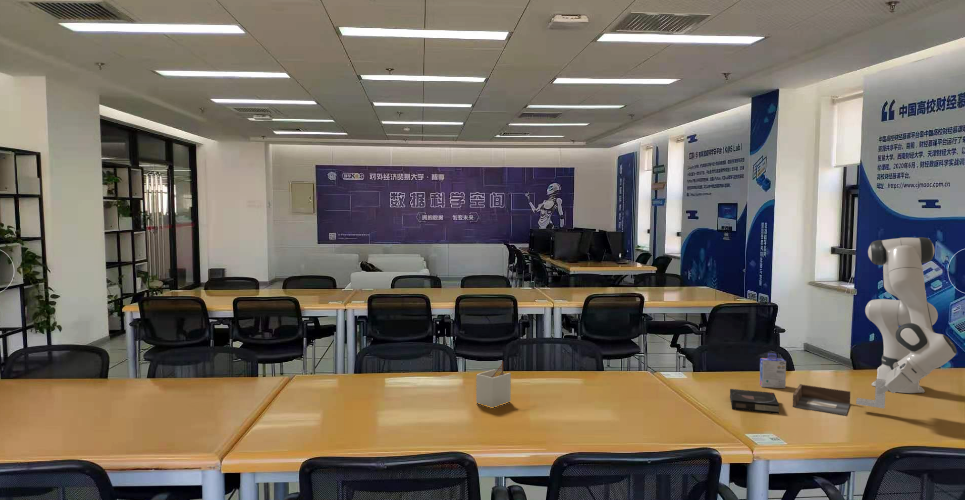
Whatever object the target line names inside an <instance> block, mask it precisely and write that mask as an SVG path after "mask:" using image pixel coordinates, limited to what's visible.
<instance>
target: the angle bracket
mask: <svg viewBox="0 0 965 500" xmlns="http://www.w3.org/2000/svg"><path fill="white" fill-rule="evenodd" d="M875 381H876V386H874V387H875V391H874V392H875V394H874V399H868V398H861V397H856V400H855V401H856V402H855V403H856V404H855V405H858V406H860V405H861V406H867V407H872V408H879V409H885V408H886V392H884V393H882V394H879V393H878V392H877V389H879V388H881V387H882V386H884V385H885V382H886V380H884V379H877V378H875Z"/></svg>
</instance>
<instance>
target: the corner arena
mask: <svg viewBox="0 0 965 500" xmlns="http://www.w3.org/2000/svg"><path fill="white" fill-rule="evenodd" d="M850 406H851V391H849V390H842V389H835V388H829V387H821V386H814V385H809V384H807V385H806V384H802V383H799V385H798V387H797V388H796V390H795V391H794V392H793V394H792V408H796V409H803V410H807V411H808V410H809V411H813V412H814V411H815V412H822V413H827V414H832V415H833V414H834V415H837V416H838V415H839V416H845V417H846V416H847V415H848V414H847V413H848V412H849V409H850Z"/></svg>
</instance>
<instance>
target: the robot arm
mask: <svg viewBox="0 0 965 500" xmlns="http://www.w3.org/2000/svg"><path fill="white" fill-rule="evenodd" d="M867 255H868V258H869V260H870V261H871V263H873V265H877V266H883V267H882V269H883V271H882V273H883V274H882V275H883V287H884V289H885V291H886V292H887V293H888V294H890V295H892V296H894V297H895V298H897V299H888V298H878V299H871V300H869V301H868V302H867V304H866V306H865V309H864V312H865V316H866V318H867V319H868V320H869V321H870V322H872V323H873V324H874V325H875V326H876V327H877V329H878V330H879V332H880V333H881V336H882V342H883V354H882V355H881V365H879V367H877V369H876V371H877V372H876V374H877V375H876V379H884V380H886V382H885V385H884V386H882V387H881V388H879V389H877V392H878V393H879V394H882V393H884V392H885V393H887V392H890V393H892V394H894V393H895V394H896V393H900V394H901V393H902V394H916V393H921V394H924V393H925V389H924V388H923V387H922V386H921V385H920V381H921V380H922V379H924V378H925V377H927V376H928V375H930V374H931V373H932V371H934V370H936V369H939V368H941V367H942V366H944V365H945V364H947V363H948V362H949V361H950V360H952V359H953V358H954V357H955V356H956V355H957V353H958V351H957V347H956V345H955V343H954V342H953V341H952V340H951V339H950V338H949V337H948V336H946V335H945V334H942V333H936V332H935V331H934V327H933V325H935V324H936V322H937V320H938V318H939V317H938V316H939V313H938V311H937V309H936V307H935V306H934V305H933V304H931V303H930V302H928V300H927V293H926V286H925V285H926V284H925V277H924V269H923V265H922V264H926V263H929V262H930V261H932V260H933V258H934V255H935V246H934V243H933V242H932V240H931V239H930V238H929V237H920V236H919V237H899V238H889V239H882V240H881V239H877V240H874V241H872V242H871V243H870V244H869V246H868V249H867ZM871 386H873V387H876V380H874V381H873V382H872V383H871Z"/></svg>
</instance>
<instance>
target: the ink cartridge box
mask: <svg viewBox="0 0 965 500" xmlns="http://www.w3.org/2000/svg"><path fill="white" fill-rule="evenodd" d="M786 369H787V360H785V359H784V358H778V356H777V353H770V352H768V353H767V358H765V357H760V358H759V385H760V386H761V387H762V388H772V389H773V388H775V389H776V388H777V389H786V383H787V382H786V378H787V374H786V372H787V371H786Z"/></svg>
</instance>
